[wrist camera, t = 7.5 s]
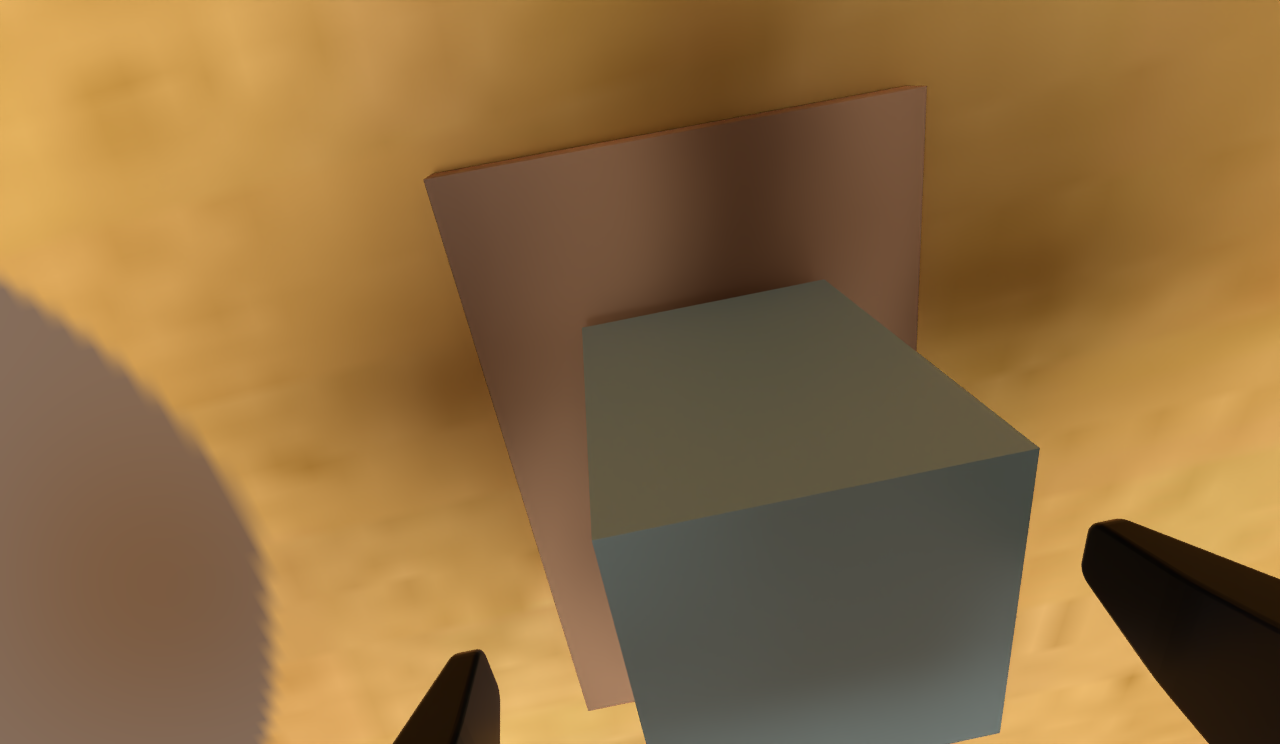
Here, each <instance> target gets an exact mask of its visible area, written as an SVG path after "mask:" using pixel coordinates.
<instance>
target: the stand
mask: <svg viewBox="0 0 1280 744" xmlns="http://www.w3.org/2000/svg"><path fill="white" fill-rule="evenodd" d="M926 95H927V86H903V87H897V88H892V89H887V90H881V91H876V92H871V93H865V94H860V95H854V96H849V97H844V98H838V99H833V100H828V101H822V102H817V103H811V104H806V105H801V106H795V107H790V108H784V109H779V110H774V111H768V112H763V113H758V114H752V115H747V116H741V117H736V118H731V119H725V120H720V121H714V122H709V123H704V124H698V125H693V126H688V127H682V128H677V129H671V130H666V131H661V132H655V133H650V134H644V135H639V136H634V137H628V138H623V139H618V140H612V141H607V142H601V143H596V144H591V145H585V146H580V147H574V148H569V149H564V150H558V151H553V152H548V153H542V154H537V155H531V156H526V157H521V158H515V159H510V160H504V161H499V162H494V163H488V164H483V165H478V166H472V167H467V168H461V169H456V170H451V171H445V172H440V173H435V174H431V175H430V176H428V177H427V178H425V179H424V183H425V186H426V190H427V193H428V196H429V199H430V202H431V206H432V209H433V212H434V215H435V219H436V222H437V225H438V228H439V231H440V235H441V238H442V241H443V244H444V248H445V251H446V254H447V257H448V260H449V264H450V267H451V270H452V273H453V277H454V280H455V283H456V286H457V289H458V293H459V296H460V299H461V302H462V306H463V309H464V312H465V315H466V318H467V322H468V325H469V328H470V331H471V335H472V338H473V341H474V344H475V347H476V351H477V354H478V357H479V360H480V363H481V367H482V370H483V373H484V376H485V380H486V383H487V386H488V389H489V392H490V396H491V399H492V402H493V405H494V409H495V412H496V415H497V418H498V421H499V425H500V428H501V431H502V434H503V438H504V441H505V444H506V447H507V450H508V454H509V457H510V460H511V463H512V467H513V470H514V473H515V476H516V479H517V483H518V486H519V489H520V492H521V495H522V499H523V502H524V505H525V508H526V512H527V515H528V518H529V521H530V524H531V528H532V531H533V534H534V537H535V541H536V544H537V547H538V550H539V553H540V557H541V560H542V563H543V566H544V570H545V573H546V576H547V579H548V582H549V586H550V589H551V592H552V595H553V599H554V602H555V605H556V608H557V611H558V615H559V618H560V621H561V624H562V628H563V631H564V634H565V637H566V640H567V644H568V647H569V650H570V653H571V656H572V660H573V663H574V666H575V669H576V673H577V676H578V679H579V682H580V685H581V689H582V692H583V695H584V698H585V702H586V705H587V708H588V711H591V710H596V709H600V708H605V707H610V706H615V705H620V704H625V703H630V702H635V700H634V696H633V692H632V689H631V685H630V681H629V677H628V674H627V670H626V666H625V663H624V659H623V655H622V651H621V648H620V644H619V640H618V637H617V633H616V629H615V625H614V622H613V618H612V614H611V611H610V607H609V603H608V599H607V596H606V592H605V588H604V584H603V581H602V577H601V573H600V570H599V566H598V562H597V558H596V555H595V551H594V547H593V544H592V537H591V515H590V493H589V471H588V449H587V427H586V405H585V383H584V362H583V340H582V328H583V327H588V326H593V325H598V324H603V323H608V322H613V321H618V320H623V319H628V318H633V317H638V316H643V315H648V314H653V313H658V312H663V311H668V310H673V309H678V308H683V307H688V306H693V305H698V304H703V303H708V302H713V301H718V300H723V299H728V298H733V297H738V296H743V295H748V294H753V293H758V292H763V291H768V290H773V289H778V288H783V287H788V286H793V285H798V284H803V283H808V282H813V281H818V280H823V279H824V280H826V281H827V282H828V283H830V284H831V285H832V286H833V287H835V288H836V289H837V290H838V291H840V292H841V293H842V294H844V295H845V296H846V297H847V298H849V299H850V300H851V301H853V302H854V303H855V304H856V305H858V306H859V307H860V308H861V309H863V310H864V311H865V312H867V313H868V314H869V315H870V316H872V317H873V318H874V319H875V320H877V321H878V322H879V323H881V324H882V325H883V326H884V327H886V328H887V329H888V330H890V331H891V332H892V333H893V334H895V335H896V336H897V337H898V338H900V339H901V340H902V341H904V342H905V343H906V344H907V345H909V346H910V347H911V348H912V349H914V350H915V351H916V346H917V321H918V296H919V271H920V246H921V221H922V196H923V171H924V145H925V120H926Z"/></svg>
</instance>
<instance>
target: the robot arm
mask: <svg viewBox="0 0 1280 744" xmlns="http://www.w3.org/2000/svg"><path fill="white" fill-rule="evenodd" d="M1081 566H1082V572H1083V575H1084V578H1085V580H1086V581H1087V583H1088V585H1089V586H1090V588H1091V589H1092V590H1093V592H1094V593H1095V595H1096V596H1097V598H1098V599H1099V600H1100V602H1101V603H1102V605H1103V606H1104V608H1105V609H1106V610H1107V612H1108V613H1109V615H1110V616H1111V618H1112V619H1113V620H1114V622H1115V623H1116V625H1117V626H1118V628H1119V629H1120V630H1121V632H1122V633H1123V635H1124V636H1125V637H1126V639H1127V640H1128V642H1129V643H1130V645H1131V646H1132V647H1133V649H1134V650H1135V652H1136V653H1137V655H1138V656H1139V657H1140V659H1141V660H1142V662H1143V663H1144V665H1145V666H1146V667H1147V669H1148V670H1149V671H1150V673H1151V674H1152V675H1153V677H1154V678H1155V679H1156V681H1157V682H1158V683H1159V684H1160V686H1161V687H1162V688H1163V689H1164V691H1165V692H1166V693H1167V694H1168V696H1169V697H1170V698H1171V699H1172V700H1173V702H1174V703H1175V704H1176V705H1177V706H1178V708H1179V709H1180V710H1181V711H1182V712H1183V714H1184V715H1185V716H1186V717H1187V718H1188V719H1189V721H1190V722H1191V723H1192V724H1193V725H1194V727H1195V728H1196V729H1197V730H1198V731H1199V733H1200V734H1201V735H1202V736H1203V737H1204V739H1205V740H1206V741H1207V742H1208V743H1209V744H1280V579H1278V578H1275V577H1273V576H1270V575H1268V574H1265V573H1263V572H1260V571H1257V570H1255V569H1252V568H1250V567H1247V566H1244V565H1242V564H1239V563H1237V562H1234V561H1232V560H1229V559H1226V558H1224V557H1221V556H1219V555H1216V554H1214V553H1211V552H1208V551H1206V550H1203V549H1201V548H1198V547H1195V546H1193V545H1190V544H1188V543H1185V542H1183V541H1180V540H1177V539H1175V538H1172V537H1170V536H1167V535H1164V534H1162V533H1159V532H1157V531H1154V530H1152V529H1149V528H1146V527H1144V526H1141V525H1139V524H1136V523H1134V522H1131V521H1128V520H1125V519H1113V520H1108V521H1103V522H1098V523H1095V524H1093V525H1092V526H1091V527H1090V528H1089V530H1088V534H1087V539H1086V544H1085V549H1084V553H1083V558H1082V564H1081ZM393 744H500V695H499V689H498V685H497V683H496V680H495V678H494V675H493V673H492V670H491V668H490V665H489V663H488V660H487V658H486V655H485V654H484V652H483V651H482V650H480V649H476V650H471V651H466V652H461V653H457V654H455V655H453V656H452V657H451V658H450V659H449V661H448V662H447V664H446V665H445V667H444V668H443V670H442V671H441V673H440V674H439V676H438V677H437V678H436V680H435V681H434V683H433V684H432V686H431V687H430V689H429V690H428V692H427V693H426V695H425V696H424V698H423V699H422V701H421V702H420V704H419V705H418V707H417V708H416V710H415V711H414V713H413V714H412V716H411V717H410V719H409V720H408V722H407V723H406V725H405V726H404V728H403V729H402V731H401V732H400V734H399V735H398V737H397V738H396V740H395V741H394V743H393Z"/></svg>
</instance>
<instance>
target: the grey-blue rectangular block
mask: <svg viewBox="0 0 1280 744" xmlns="http://www.w3.org/2000/svg"><path fill="white" fill-rule="evenodd" d="M582 340H583V362H584V383H585V405H586V427H587V449H588V471H589V493H590V515H591V537H592V544H593V547H594V551H595V555H596V558H597V562H598V566H599V570H600V573H601V577H602V581H603V584H604V588H605V592H606V596H607V599H608V603H609V607H610V611H611V614H612V618H613V622H614V625H615V629H616V633H617V637H618V640H619V644H620V648H621V651H622V655H623V659H624V663H625V666H626V670H627V674H628V677H629V681H630V685H631V689H632V692H633V696H634V700H635V703H636V707H637V711H638V715H639V718H640V722H641V726H642V729H643V733H644V737H645V741H646V744H950V743H955V742H959V741H964V740H969V739H973V738H978V737H983V736H987V735H992V734H997V733H1000V727H1001V720H1002V713H1003V706H1004V699H1005V692H1006V684H1007V677H1008V670H1009V663H1010V656H1011V649H1012V642H1013V635H1014V627H1015V620H1016V613H1017V606H1018V599H1019V592H1020V585H1021V578H1022V570H1023V563H1024V556H1025V549H1026V542H1027V535H1028V528H1029V521H1030V513H1031V506H1032V499H1033V492H1034V485H1035V478H1036V471H1037V464H1038V456H1039V449H1040V448H1039V447H1038V446H1036V445H1035V444H1034V443H1032V442H1031V441H1030V440H1029V439H1027V438H1026V437H1025V436H1023V435H1022V434H1021V433H1020V432H1018V431H1017V430H1016V429H1015V428H1013V427H1012V426H1011V425H1009V424H1008V423H1007V422H1006V421H1004V420H1003V419H1002V418H1001V417H999V416H998V415H997V414H995V413H994V412H993V411H992V410H990V409H989V408H988V407H986V406H985V405H984V404H983V403H981V402H980V401H979V400H978V399H976V398H975V397H974V396H972V395H971V394H970V393H969V392H967V391H966V390H965V389H964V388H962V387H961V386H960V385H958V384H957V383H956V382H955V381H953V380H952V379H951V378H949V377H948V376H947V375H946V374H944V373H943V372H942V371H941V370H939V369H938V368H937V367H935V366H934V365H933V364H932V363H930V362H929V361H928V360H927V359H925V358H924V357H923V356H921V355H920V354H919V353H918V352H916V351H915V350H914V349H912V348H911V347H910V346H909V345H907V344H906V343H905V342H904V341H902V340H901V339H900V338H898V337H897V336H896V335H895V334H893V333H892V332H891V331H890V330H888V329H887V328H886V327H884V326H883V325H882V324H881V323H879V322H878V321H877V320H875V319H874V318H873V317H872V316H870V315H869V314H868V313H867V312H865V311H864V310H863V309H861V308H860V307H859V306H858V305H856V304H855V303H854V302H853V301H851V300H850V299H849V298H847V297H846V296H845V295H844V294H842V293H841V292H840V291H838V290H837V289H836V288H835V287H833V286H832V285H831V284H830V283H828V282H827V281H826V280H824V279H823V280H818V281H813V282H808V283H803V284H798V285H793V286H788V287H783V288H778V289H773V290H768V291H763V292H758V293H753V294H748V295H743V296H738V297H733V298H728V299H723V300H718V301H713V302H708V303H703V304H698V305H693V306H688V307H683V308H678V309H673V310H668V311H663V312H658V313H653V314H648V315H643V316H638V317H633V318H628V319H623V320H618V321H613V322H608V323H603V324H598V325H593V326H588V327H583V328H582Z"/></svg>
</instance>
